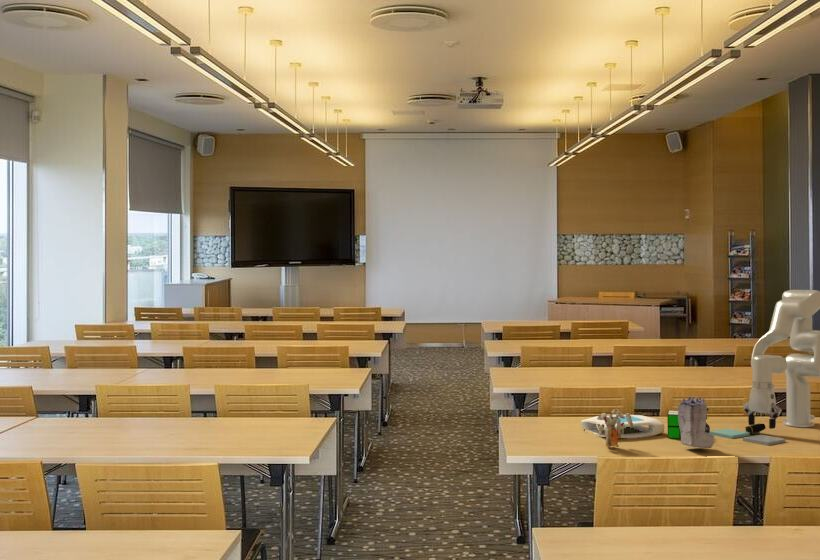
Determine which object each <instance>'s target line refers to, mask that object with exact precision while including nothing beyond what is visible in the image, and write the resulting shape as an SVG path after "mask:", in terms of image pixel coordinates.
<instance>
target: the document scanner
mask: <svg viewBox="0 0 820 560" xmlns="http://www.w3.org/2000/svg"><path fill="white" fill-rule="evenodd" d="M612 415H613V417H616V415H617V414H612ZM623 415H624V416H625V419H622V418H620V417H618V418H620V419H621V423H623V422H624V424H625V427H630V428H629V429H631V428H634V429H633V430H635V429H637V430H636V431H638V430H639V432H635V433H624V434H621V438H627V439H638V437H639V438H646V437H647V438H648V437H654V436H657V435H659V434H660V435H661V434H662V433H664V432H665V423H663V422H661V421H660V420H659V419H658V418H653V417H649V416H645V415H641V414H630V415H631V419H632V423H633V426H630V424H628V422H627V420H626V414H623ZM598 416H599V415H597V416H592V417H590V418H585V419H582V420H581V422H580V423H581V424H580V425H581V429H582V428H583V429H585V430H589V431H590V432H593V433H594V434H596V435H599V434H598V428H597V427H598V424H600V425H602V424H604V429H606V424H605V420H598V419H597V418H598ZM607 417H608V418H610V417H609V414H607ZM645 426H648V427H645ZM615 428H616V429H617V423H616V425H615ZM583 429H582V430H583ZM604 429H603V430H604ZM599 436H601V437H605V435H599Z"/></svg>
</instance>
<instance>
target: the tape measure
mask: <svg viewBox="0 0 820 560" xmlns="http://www.w3.org/2000/svg"><path fill="white" fill-rule="evenodd" d="M765 430H766V425H765V423H755V424H754V425H748V426H745V432H749V433H750V435H752V436H754V435H757V434H758V433H759V434H760V433H761V432H762V431H765Z"/></svg>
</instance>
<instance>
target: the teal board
mask: <svg viewBox="0 0 820 560" xmlns="http://www.w3.org/2000/svg"><path fill="white" fill-rule="evenodd" d="M709 434H712V435H714V437H715V436H716V437H720V438H726V439H731V440H732V439H733V440H734V439H737V438H744V437H750V436H751V434H750V433H749V432H746V431H743V430H736V429H730V428H723V429H717V430H710V432H709Z"/></svg>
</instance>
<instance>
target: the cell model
mask: <svg viewBox="0 0 820 560" xmlns="http://www.w3.org/2000/svg"><path fill="white" fill-rule="evenodd" d="M705 399H706V398H705V397H701V396H699V397H693V396H691V397H690V396H689V397H688V398H687V399H685V397H682V401H681V402H680V403H679V402H678V405H677V408H678V410H677V411H678V422H679V428H680V432H681V438H680V442H681V443H680V444H682V445H684V446H687V447H692V448H700V449H701V448H702V449H711V448H712V447H713V446H714V442H715V435H712V434H709V432H710V431H711V430H710V429H711V427H710V425H709V424H708V423H707V421H706V420H707V419H708V417H707V413H708V412H709V407H708V405H707V403H706V402H705V401H706V400H705Z"/></svg>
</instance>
